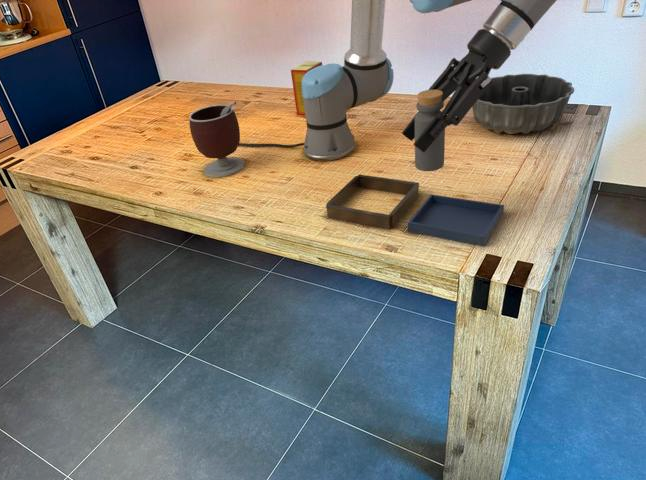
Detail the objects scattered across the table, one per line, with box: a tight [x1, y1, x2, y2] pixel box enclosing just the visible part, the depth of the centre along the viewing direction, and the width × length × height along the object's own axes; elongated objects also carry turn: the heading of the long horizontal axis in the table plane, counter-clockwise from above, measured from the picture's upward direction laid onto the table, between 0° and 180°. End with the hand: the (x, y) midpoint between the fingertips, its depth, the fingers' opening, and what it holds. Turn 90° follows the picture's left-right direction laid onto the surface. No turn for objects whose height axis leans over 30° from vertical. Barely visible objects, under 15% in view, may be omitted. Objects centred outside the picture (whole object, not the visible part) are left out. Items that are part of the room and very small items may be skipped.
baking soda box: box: [290, 61, 323, 117], centre depth 177 cm, size 10×6×16 cm
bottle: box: [414, 89, 446, 172], centre depth 101 cm, size 6×6×15 cm
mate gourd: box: [188, 101, 245, 178], centre depth 147 cm, size 16×14×20 cm
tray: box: [407, 193, 505, 247], centre depth 109 cm, size 16×13×2 cm
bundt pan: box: [472, 73, 575, 135], centre depth 143 cm, size 26×26×10 cm
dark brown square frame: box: [325, 174, 420, 230], centre depth 120 cm, size 17×17×3 cm
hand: (412, 142), depth 102 cm, fingers closed on bottle, 6 cm apart
